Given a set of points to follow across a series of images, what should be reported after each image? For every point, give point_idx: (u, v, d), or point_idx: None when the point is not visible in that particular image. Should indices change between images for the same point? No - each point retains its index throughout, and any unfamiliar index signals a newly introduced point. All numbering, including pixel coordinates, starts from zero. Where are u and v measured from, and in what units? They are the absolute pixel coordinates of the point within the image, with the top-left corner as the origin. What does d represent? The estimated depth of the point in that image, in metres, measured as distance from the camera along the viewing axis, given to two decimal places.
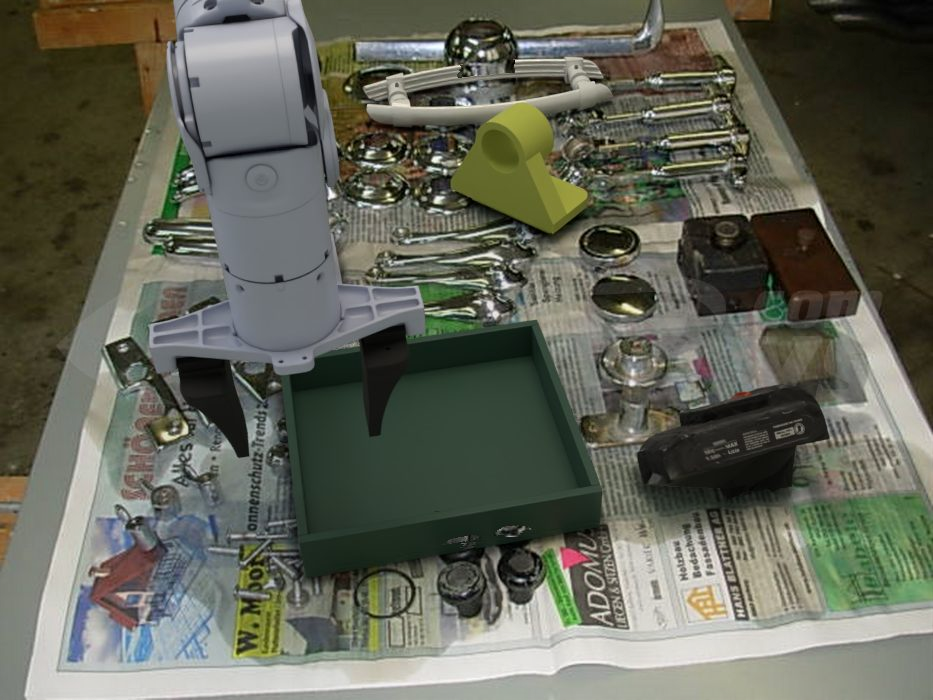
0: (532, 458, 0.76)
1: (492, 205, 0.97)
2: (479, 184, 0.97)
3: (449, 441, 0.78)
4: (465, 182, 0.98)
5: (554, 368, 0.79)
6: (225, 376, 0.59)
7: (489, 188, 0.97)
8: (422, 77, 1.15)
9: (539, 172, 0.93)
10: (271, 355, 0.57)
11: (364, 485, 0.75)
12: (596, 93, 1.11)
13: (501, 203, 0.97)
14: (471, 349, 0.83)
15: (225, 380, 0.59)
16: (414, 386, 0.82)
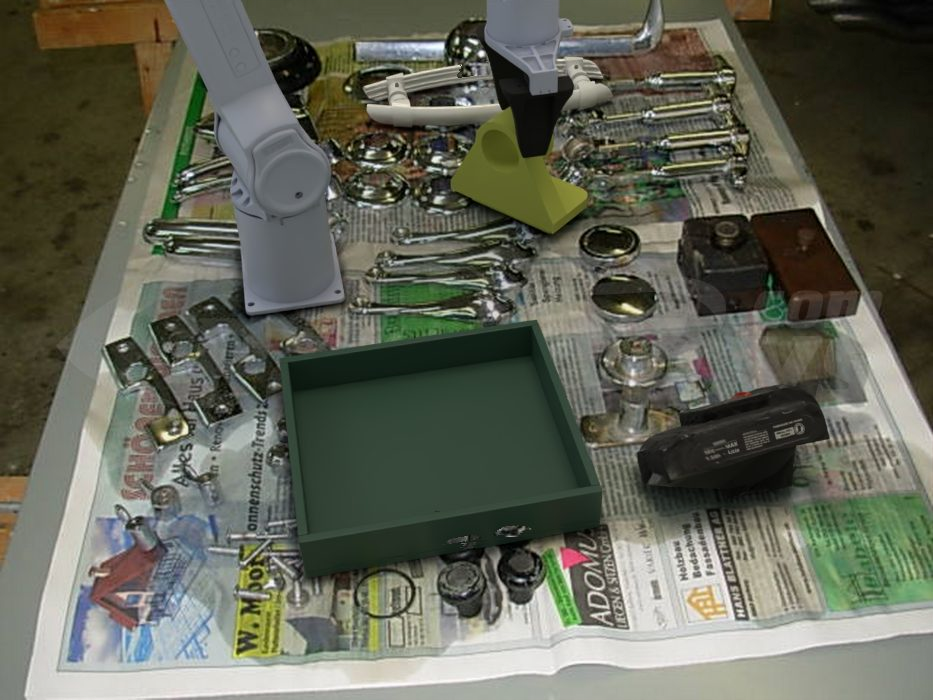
0: (532, 458, 0.76)
1: (492, 205, 0.97)
2: (479, 185, 0.97)
3: (449, 441, 0.78)
4: (465, 182, 0.98)
5: (554, 368, 0.79)
6: None
7: (489, 188, 0.97)
8: (422, 77, 1.15)
9: (539, 172, 0.93)
10: (563, 30, 0.88)
11: (364, 485, 0.75)
12: (596, 92, 1.11)
13: (501, 203, 0.97)
14: (471, 349, 0.83)
15: None
16: (414, 386, 0.82)
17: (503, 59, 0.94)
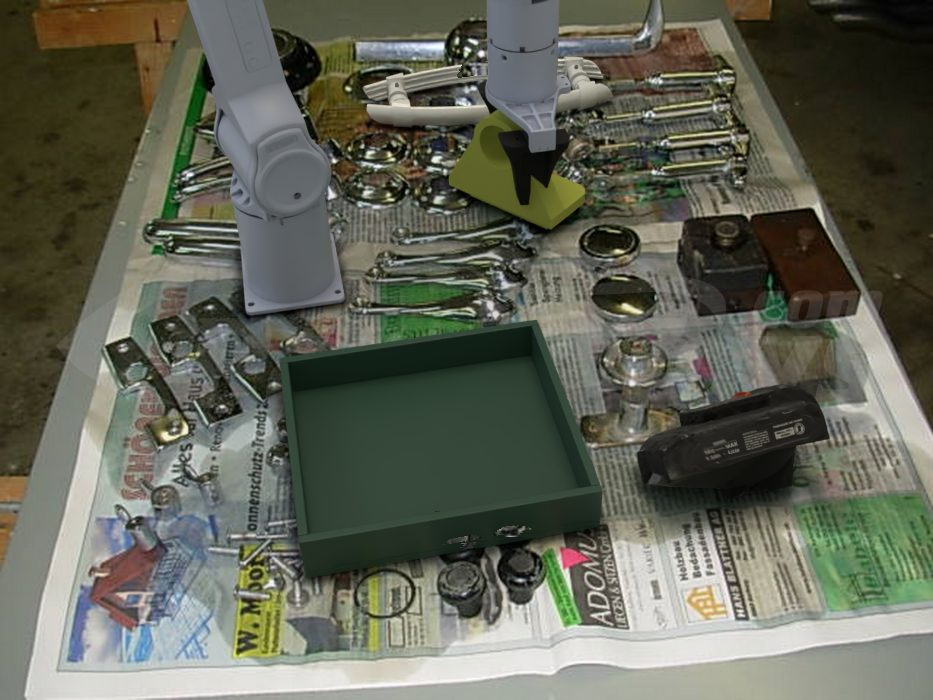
0: (532, 458, 0.76)
1: (490, 201, 0.98)
2: (478, 180, 0.98)
3: (449, 441, 0.78)
4: (463, 178, 0.99)
5: (554, 368, 0.79)
6: None
7: (487, 184, 0.97)
8: (422, 77, 1.15)
9: None
10: (560, 87, 0.91)
11: (364, 485, 0.75)
12: (596, 92, 1.11)
13: (499, 199, 0.97)
14: (471, 349, 0.83)
15: None
16: (414, 386, 0.82)
17: None
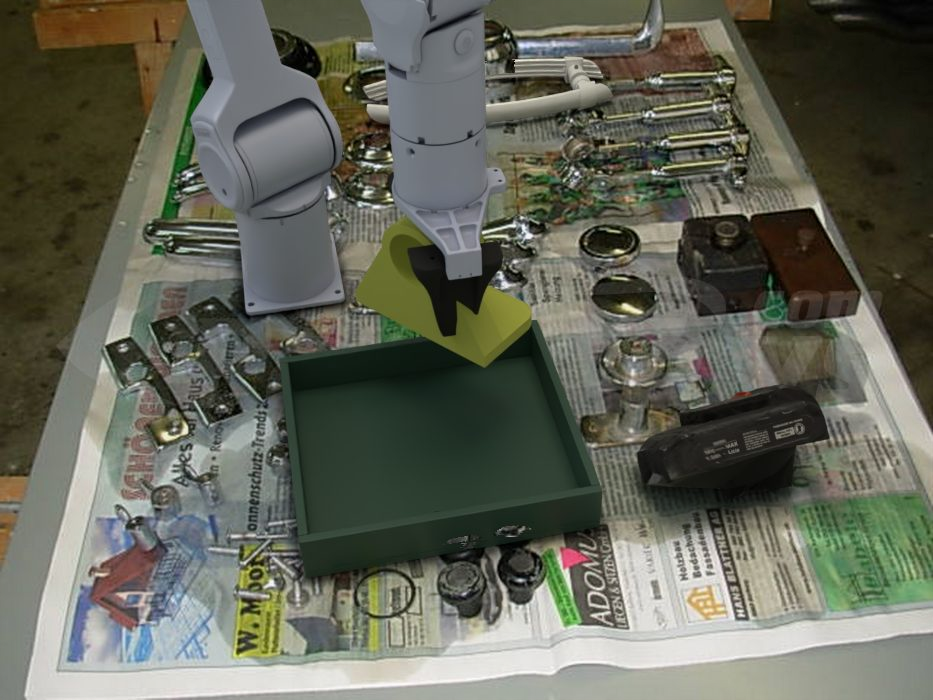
0: (532, 458, 0.76)
1: (407, 326, 0.75)
2: (391, 300, 0.74)
3: (449, 441, 0.78)
4: (373, 295, 0.75)
5: (554, 368, 0.79)
6: None
7: (402, 305, 0.74)
8: None
9: None
10: (492, 186, 0.68)
11: (364, 485, 0.75)
12: (596, 92, 1.11)
13: (418, 324, 0.74)
14: None
15: None
16: (414, 386, 0.82)
17: None
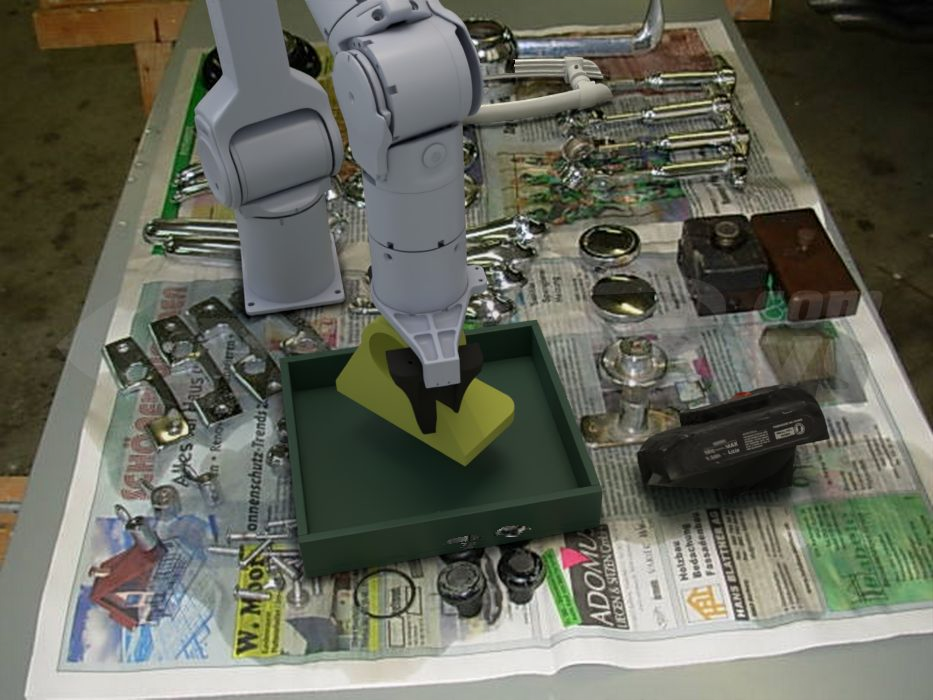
0: (532, 458, 0.76)
1: (388, 419, 0.74)
2: (371, 393, 0.73)
3: None
4: (353, 386, 0.74)
5: (554, 368, 0.79)
6: None
7: (382, 399, 0.73)
8: None
9: None
10: (472, 286, 0.67)
11: (364, 485, 0.75)
12: (596, 92, 1.11)
13: (399, 419, 0.73)
14: None
15: (458, 346, 0.67)
16: None
17: None
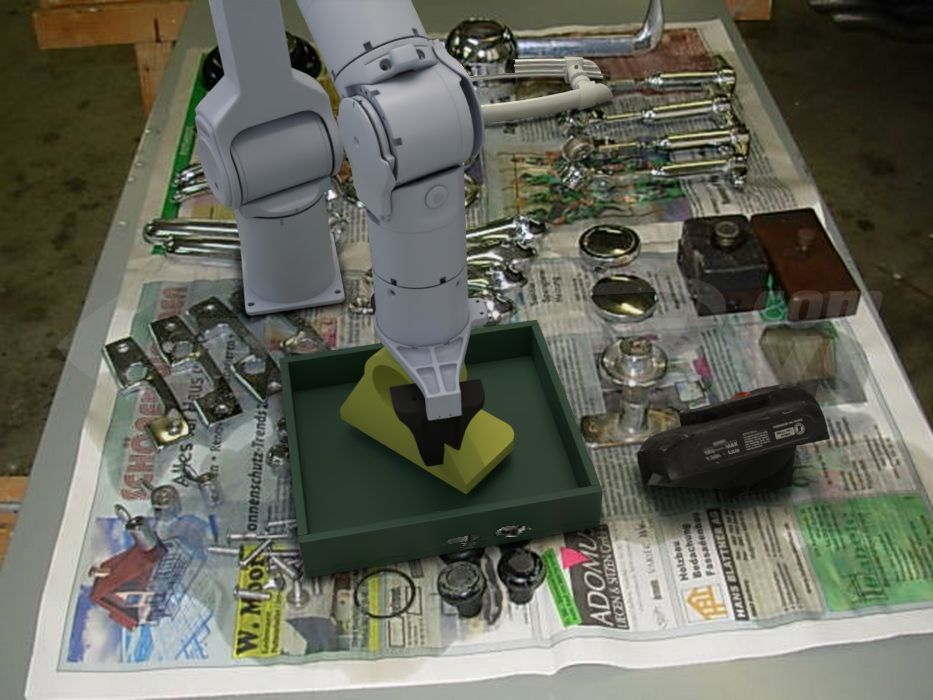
0: (532, 458, 0.76)
1: (391, 447, 0.75)
2: (374, 421, 0.75)
3: None
4: (357, 415, 0.76)
5: (554, 368, 0.79)
6: None
7: (385, 428, 0.74)
8: None
9: None
10: (473, 319, 0.69)
11: (364, 485, 0.75)
12: (596, 92, 1.11)
13: (401, 447, 0.74)
14: (471, 349, 0.83)
15: None
16: None
17: None
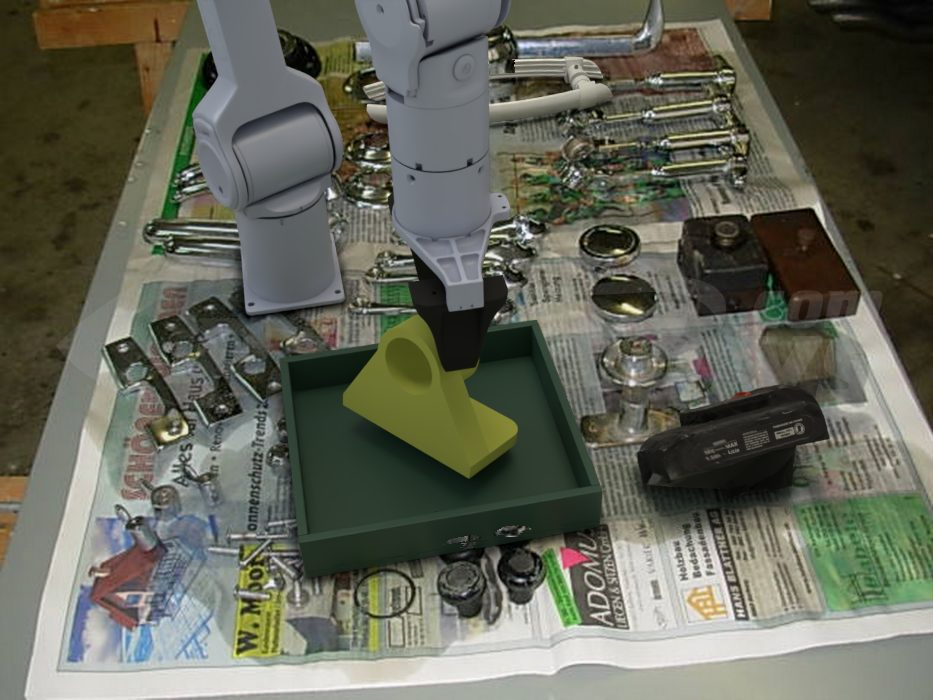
0: (532, 458, 0.76)
1: (393, 432, 0.75)
2: (379, 404, 0.75)
3: None
4: (362, 399, 0.76)
5: (554, 368, 0.79)
6: None
7: (391, 410, 0.74)
8: None
9: (457, 398, 0.71)
10: (495, 213, 0.66)
11: (364, 485, 0.75)
12: (596, 92, 1.11)
13: (405, 431, 0.74)
14: None
15: (482, 278, 0.65)
16: None
17: None
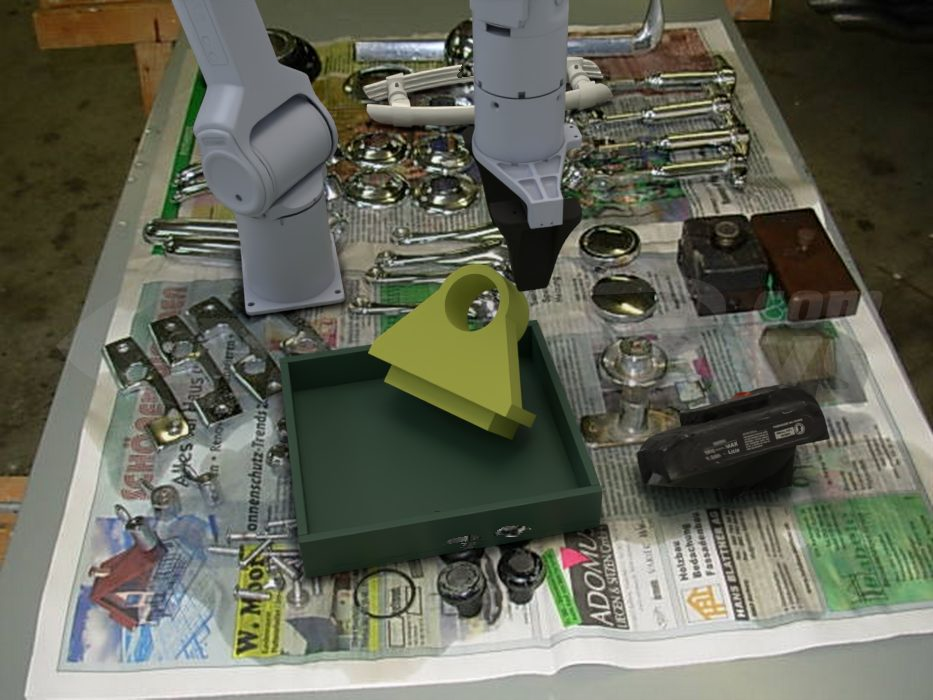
0: (532, 458, 0.76)
1: (424, 376, 0.75)
2: (418, 347, 0.75)
3: (449, 441, 0.78)
4: (396, 343, 0.76)
5: (554, 368, 0.79)
6: None
7: (430, 352, 0.75)
8: (422, 77, 1.15)
9: (512, 340, 0.74)
10: (569, 141, 0.71)
11: (364, 485, 0.75)
12: (596, 92, 1.11)
13: (440, 373, 0.74)
14: None
15: None
16: None
17: None
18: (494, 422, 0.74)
